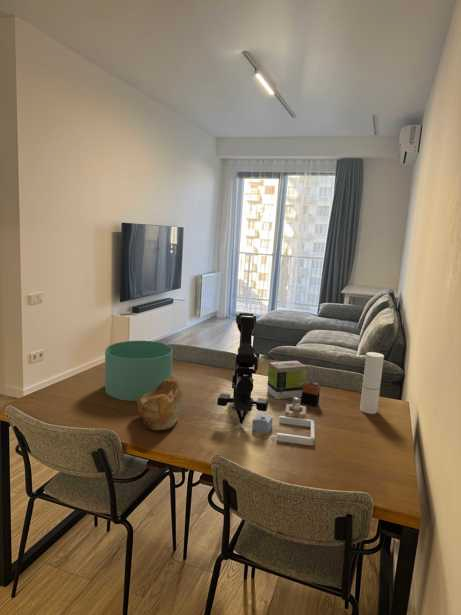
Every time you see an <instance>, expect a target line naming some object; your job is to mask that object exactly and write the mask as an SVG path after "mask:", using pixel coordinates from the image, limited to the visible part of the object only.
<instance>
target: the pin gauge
mask: <svg viewBox="0 0 461 615" xmlns="http://www.w3.org/2000/svg"><path fill="white" fill-rule="evenodd" d="M301 399H302V398H301V397H293V398H292V403H291V405H292V411H295V412H299V410H300V406H301Z"/></svg>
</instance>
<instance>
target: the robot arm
mask: <svg viewBox="0 0 461 615" xmlns="http://www.w3.org/2000/svg"><path fill="white" fill-rule="evenodd" d="M257 317H258V316H257V315H255V314H254V312H251V311H250V312H249V311H238V313H236V314H235V324H236V326H237V330H238V331H239V333H240V334H239V347H238V348H237V353H236V354H235V359H234V360H235V362H234V364H235V365H234V372H233V374H232V379H231V389H233V392H232V394H233V395H232V397H231V394H230V393H229V394H228V393H220V394H219V396H218V398H217V403H216V404H217V406H221V407H226V406H227V405H228V404H232V406H231V408H232V410H234V411H236V414H237V417H238V420H239V423H240V425H242V424H243V423H244V420H245V418H246V416H247V414H248V413H249V412H252V410H253V407H256V410H257V411H258V412H267V410H268V407H269V400H268V399H267V398H263V397H258V398H257V400H254V398H253V397H252V392H253V390H254V379H253V374H254V375H256V374H257V371H258V370H259V368H258V356H257V355H256V354H255V348H254V346H253V345H252V332H253V330H254V328H255V325H257Z"/></svg>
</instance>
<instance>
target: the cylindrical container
mask: <svg viewBox="0 0 461 615" xmlns="http://www.w3.org/2000/svg"><path fill="white" fill-rule="evenodd" d="M384 359H385V355H384V354H382V353H379V352H375V351H369V352H366V353H365V363H364V369H363V371H364V372H363V378H362V379H363V380H362V388H361V394H360V395H361V396H360V404H359V410H360V411H361V412H363V413H366V414H370V415H372V414H373V415H375V414H377V413H378V409H379V408H378V406H379V398H380V391H381V382H382V376H383V369H384V368H383V367H384Z"/></svg>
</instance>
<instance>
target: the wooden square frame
mask: <svg viewBox="0 0 461 615" xmlns="http://www.w3.org/2000/svg"><path fill="white" fill-rule="evenodd" d="M306 415H307V405H300V410H299V412H295V411H292V403H291V404H289V403H286V405H285V413H284V416H286V417H294V418H302V419H307V418H306V417H307V416H306Z"/></svg>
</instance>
